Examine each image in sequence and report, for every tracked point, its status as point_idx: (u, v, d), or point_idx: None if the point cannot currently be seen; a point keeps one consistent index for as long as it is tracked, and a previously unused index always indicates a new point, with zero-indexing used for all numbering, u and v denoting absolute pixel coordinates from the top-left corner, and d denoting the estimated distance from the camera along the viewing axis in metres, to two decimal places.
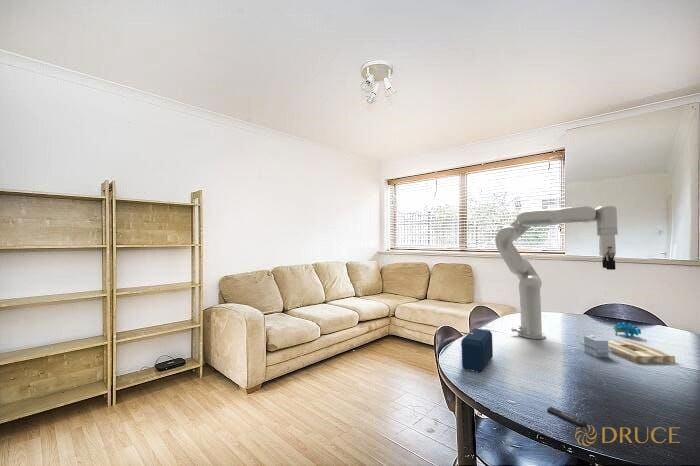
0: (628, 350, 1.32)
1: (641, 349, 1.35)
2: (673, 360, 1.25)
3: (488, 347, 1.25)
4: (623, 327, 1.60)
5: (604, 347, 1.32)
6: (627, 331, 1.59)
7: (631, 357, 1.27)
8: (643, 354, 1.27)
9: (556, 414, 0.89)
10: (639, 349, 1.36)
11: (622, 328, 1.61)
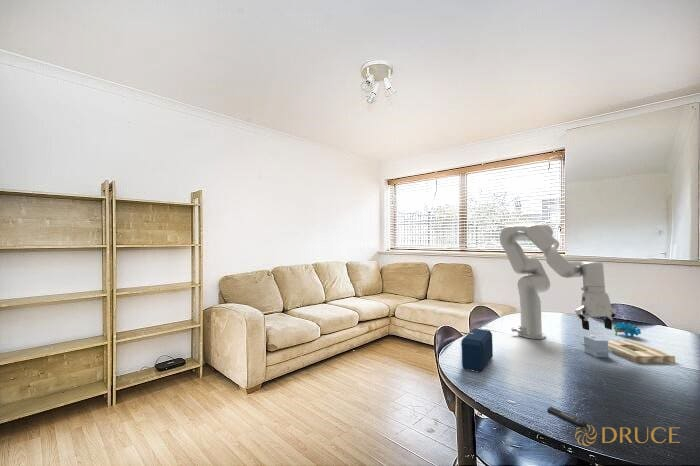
0: (628, 350, 1.32)
1: (641, 349, 1.35)
2: (673, 360, 1.25)
3: (488, 347, 1.25)
4: (623, 327, 1.60)
5: (604, 347, 1.32)
6: (627, 331, 1.59)
7: (631, 357, 1.27)
8: (643, 354, 1.27)
9: (556, 414, 0.89)
10: (639, 349, 1.36)
11: (622, 328, 1.61)
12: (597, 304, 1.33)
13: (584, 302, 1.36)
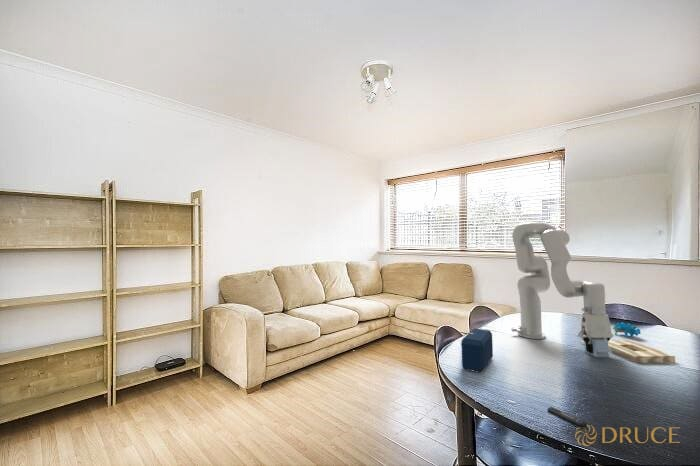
0: (628, 350, 1.32)
1: (641, 349, 1.35)
2: (673, 360, 1.25)
3: (488, 347, 1.25)
4: (622, 327, 1.60)
5: (604, 347, 1.32)
6: (626, 331, 1.58)
7: (631, 357, 1.27)
8: (643, 354, 1.27)
9: (556, 414, 0.89)
10: (639, 349, 1.36)
11: (622, 328, 1.61)
12: (597, 325, 1.33)
13: (584, 323, 1.36)
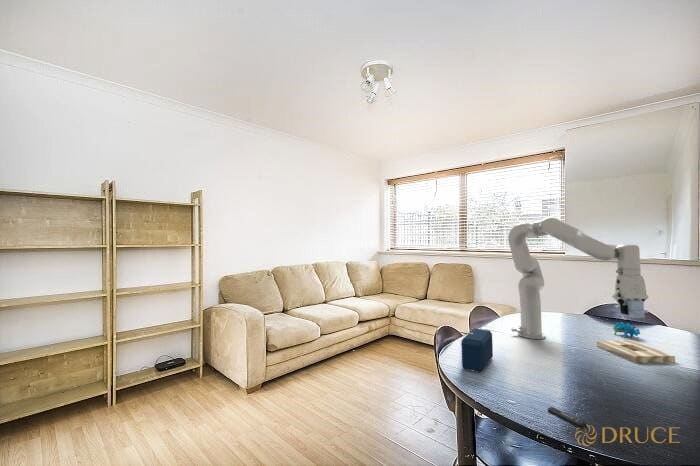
0: (628, 350, 1.32)
1: (641, 349, 1.35)
2: (673, 360, 1.25)
3: (488, 347, 1.25)
4: (622, 327, 1.60)
5: (640, 307, 1.32)
6: (626, 331, 1.58)
7: (631, 357, 1.27)
8: (643, 354, 1.27)
9: (556, 414, 0.89)
10: (639, 349, 1.36)
11: (621, 328, 1.61)
12: (632, 286, 1.34)
13: (619, 284, 1.36)
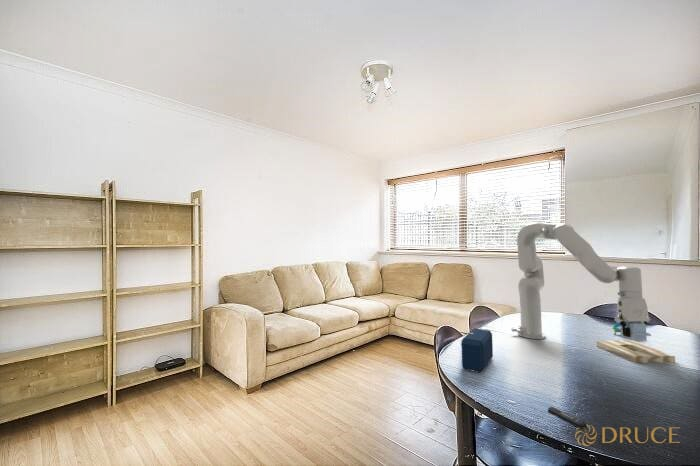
0: (628, 350, 1.32)
1: (641, 349, 1.35)
2: (673, 360, 1.25)
3: (488, 347, 1.25)
4: None
5: (642, 330, 1.32)
6: None
7: (631, 357, 1.27)
8: (643, 354, 1.27)
9: (556, 414, 0.89)
10: (639, 349, 1.36)
11: None
12: (634, 309, 1.33)
13: (620, 307, 1.36)
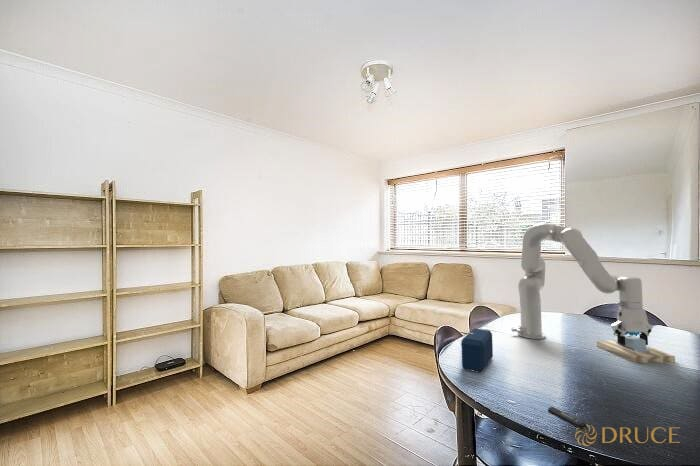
0: (628, 350, 1.32)
1: None
2: (673, 360, 1.25)
3: (488, 347, 1.25)
4: None
5: (642, 346, 1.32)
6: None
7: (631, 357, 1.27)
8: (643, 354, 1.27)
9: (556, 414, 0.89)
10: None
11: None
12: (634, 320, 1.33)
13: (620, 317, 1.36)
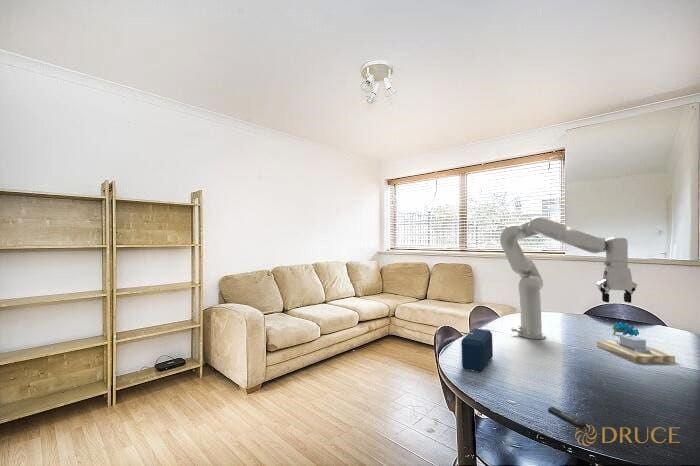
0: (628, 350, 1.32)
1: None
2: (673, 360, 1.25)
3: (488, 347, 1.25)
4: (621, 327, 1.60)
5: (642, 346, 1.32)
6: (624, 331, 1.58)
7: (631, 357, 1.27)
8: (643, 354, 1.27)
9: (556, 414, 0.89)
10: None
11: (620, 328, 1.61)
12: (619, 278, 1.38)
13: (606, 276, 1.41)
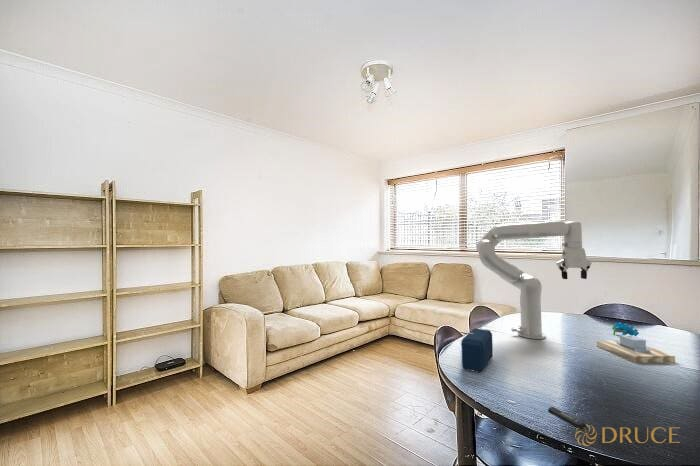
0: (628, 350, 1.32)
1: None
2: (673, 360, 1.25)
3: (488, 347, 1.25)
4: (620, 327, 1.60)
5: (642, 346, 1.32)
6: (624, 331, 1.58)
7: (631, 357, 1.27)
8: (643, 354, 1.27)
9: (556, 414, 0.89)
10: None
11: (620, 328, 1.61)
12: (575, 257, 1.56)
13: (564, 256, 1.58)
